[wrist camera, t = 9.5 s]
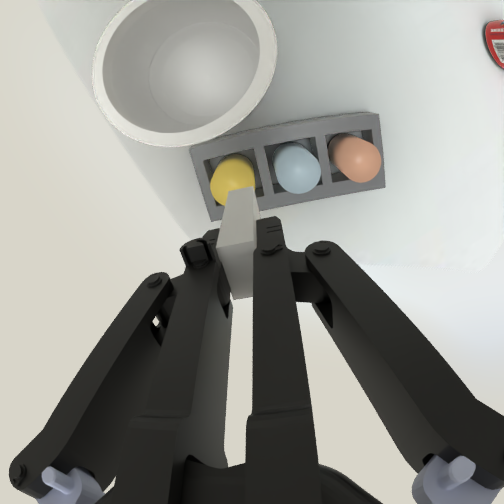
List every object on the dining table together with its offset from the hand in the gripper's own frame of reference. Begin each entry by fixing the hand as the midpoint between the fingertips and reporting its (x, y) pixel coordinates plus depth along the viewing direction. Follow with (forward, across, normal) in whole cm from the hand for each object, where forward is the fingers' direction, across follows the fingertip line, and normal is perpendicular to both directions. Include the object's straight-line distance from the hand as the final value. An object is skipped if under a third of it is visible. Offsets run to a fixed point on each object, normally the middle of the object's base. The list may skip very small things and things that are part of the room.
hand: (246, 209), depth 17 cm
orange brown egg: (+14, +10, -1) cm, 17 cm away
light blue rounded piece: (+13, +4, -1) cm, 14 cm away
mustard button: (+13, -2, -1) cm, 13 cm away
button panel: (+14, +4, -1) cm, 15 cm away
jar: (+15, -2, +10) cm, 17 cm away
